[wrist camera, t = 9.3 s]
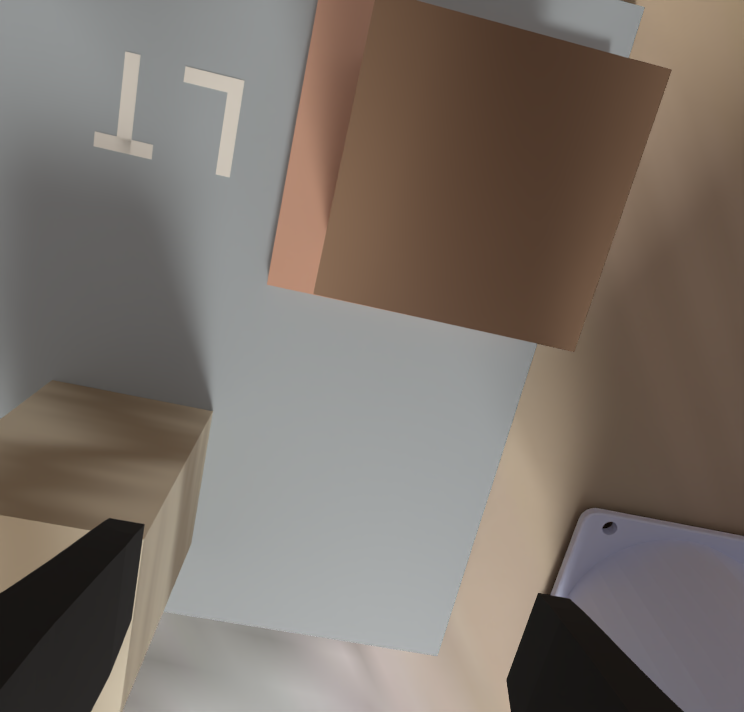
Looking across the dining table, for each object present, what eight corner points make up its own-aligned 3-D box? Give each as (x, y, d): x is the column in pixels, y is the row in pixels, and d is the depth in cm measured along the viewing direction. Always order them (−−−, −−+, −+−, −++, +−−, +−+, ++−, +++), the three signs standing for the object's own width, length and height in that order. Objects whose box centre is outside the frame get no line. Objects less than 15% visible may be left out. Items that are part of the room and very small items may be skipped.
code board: (635, 12, 17) (645, 7, 17) (435, 644, 24) (437, 656, 23) (2, -161, 16) (-12, -174, 15) (-29, 567, 22) (-40, 579, 22)
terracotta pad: (608, 62, 17) (615, 59, 17) (523, 336, 20) (527, 340, 19) (322, -14, 16) (321, -19, 16) (268, 281, 19) (267, 284, 18)
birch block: (212, 411, 20) (143, 539, 13) (191, 543, 21) (118, 719, 15) (52, 379, 20) (-104, 497, 13) (41, 517, 21) (-104, 686, 14)
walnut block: (546, 102, 17) (671, 70, 10) (493, 280, 18) (574, 351, 12) (367, 55, 17) (377, -11, 10) (327, 242, 18) (313, 293, 11)
